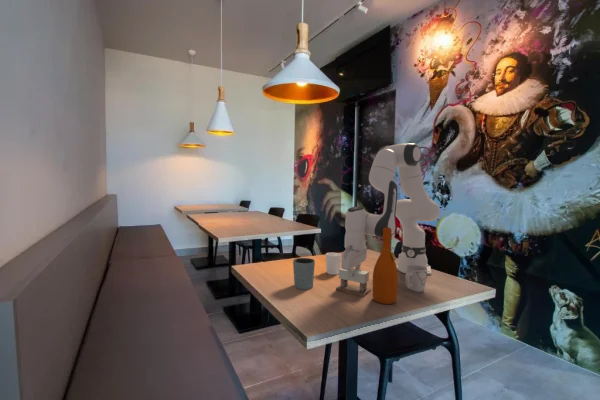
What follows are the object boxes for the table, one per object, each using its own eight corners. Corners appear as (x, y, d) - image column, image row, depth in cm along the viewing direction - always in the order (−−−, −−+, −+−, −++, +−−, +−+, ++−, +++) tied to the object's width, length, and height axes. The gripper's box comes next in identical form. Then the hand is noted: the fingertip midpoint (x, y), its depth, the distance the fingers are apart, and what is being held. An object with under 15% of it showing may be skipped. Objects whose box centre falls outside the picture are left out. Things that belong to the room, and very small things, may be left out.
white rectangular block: (368, 280, 132) (369, 271, 132) (364, 283, 128) (364, 274, 128) (343, 275, 139) (343, 266, 138) (338, 278, 135) (339, 269, 134)
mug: (413, 295, 129) (414, 272, 129) (397, 289, 137) (398, 267, 136) (430, 290, 136) (431, 268, 135) (414, 284, 143) (415, 264, 142)
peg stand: (343, 285, 140) (343, 274, 140) (370, 291, 133) (371, 280, 133) (336, 290, 134) (336, 279, 133) (364, 296, 127) (364, 285, 126)
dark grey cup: (304, 291, 131) (304, 264, 130) (287, 286, 138) (288, 260, 137) (319, 286, 139) (319, 260, 138) (302, 280, 145) (303, 256, 145)
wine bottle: (382, 306, 117) (385, 230, 115) (367, 297, 126) (369, 226, 124) (402, 303, 121) (405, 228, 119) (386, 294, 130) (388, 225, 128)
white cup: (339, 275, 154) (340, 256, 154) (324, 274, 156) (325, 255, 155) (341, 271, 162) (341, 252, 161) (326, 270, 164) (326, 251, 163)
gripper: (352, 249, 122) (351, 282, 123) (369, 241, 139) (368, 270, 140) (337, 247, 125) (337, 279, 126) (356, 239, 142) (355, 268, 143)
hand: (353, 274), depth 133 cm, fingers open, 5 cm apart
